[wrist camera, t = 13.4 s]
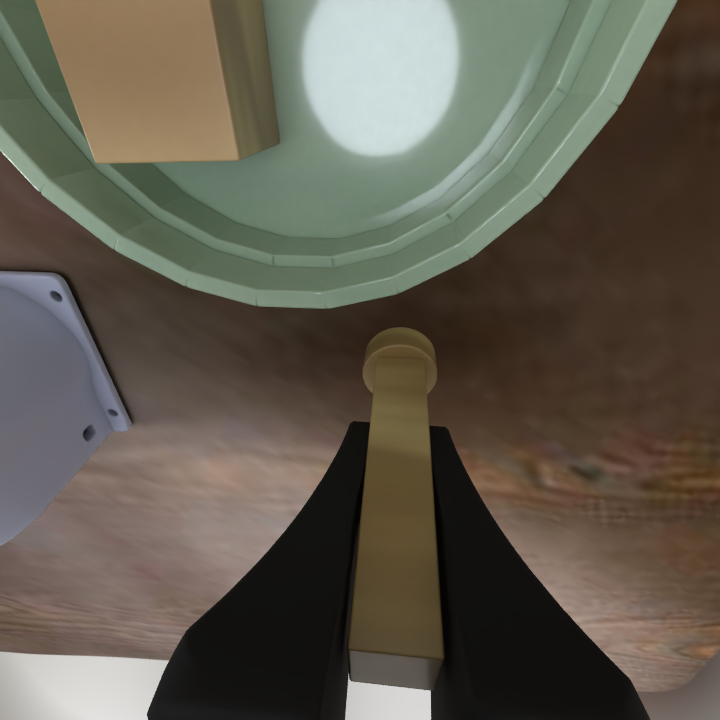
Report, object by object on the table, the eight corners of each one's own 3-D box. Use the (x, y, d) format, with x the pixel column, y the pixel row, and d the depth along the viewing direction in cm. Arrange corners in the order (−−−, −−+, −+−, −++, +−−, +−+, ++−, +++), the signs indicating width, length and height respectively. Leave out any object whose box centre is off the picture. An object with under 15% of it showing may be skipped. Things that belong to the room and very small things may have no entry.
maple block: (280, 143, 13) (240, 161, 10) (168, 146, 14) (94, 164, 10) (260, -17, 11) (199, -63, 8) (127, -8, 11) (15, -49, 8)
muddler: (432, 385, 15) (459, 703, 7) (365, 382, 15) (324, 687, 8) (438, 327, 14) (482, 651, 6) (365, 324, 14) (313, 633, 6)
